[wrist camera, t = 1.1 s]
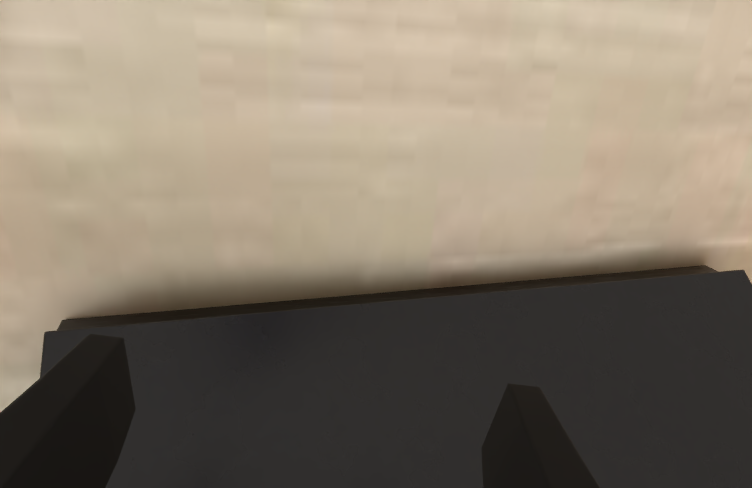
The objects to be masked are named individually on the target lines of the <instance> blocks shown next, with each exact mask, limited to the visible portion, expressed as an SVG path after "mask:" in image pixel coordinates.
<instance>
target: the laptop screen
mask: <svg viewBox="0 0 752 488" xmlns="http://www.w3.org/2000/svg"><path fill="white" fill-rule="evenodd" d="M89 334H97V335H105V336H114V337H122V338H124V342H125V348H126V354H127V360H128V366H129V372H130V378H131V384H132V390H133V396H134V402H135V408H136V409H135V412H134V415H133V418H132V421H131V424H130V427H129V430H128V433H127V436H126V439H125V442H124V445H123V448H122V450H121V453H120V456H119V459H118V462H117V464H116V466H115V468H114V470H113V472H112V475H111V477H110V479H109V481H108V483H107V485H106V487H105V488H483V472H482V445H483V443H484V440H485V438H486V436H487V433H488V431H489V428H490V426H491V423H492V421H493V419H494V416H495V414H496V411H497V409H498V406H499V404H500V401H501V399H502V397H503V394H504V392H505V389H506V387H507V384H508V383H509V384H517V385H526V386H534V387H540V389H541V390H542V391H543V393H544V395H545V396H546V398H547V400H548V402H549V403H550V405H551V407H552V409H553V410H554V412H555V414H556V415H557V417H558V419H559V421H560V422H561V424H562V426H563V427H564V429H565V431H566V433H567V434H568V436H569V438H570V439H571V441H572V443H573V444H574V446H575V448H576V449H577V451H578V452H579V454H580V456H581V457H582V459H583V461H584V462H585V464H586V466H587V467H588V469H589V470H590V472H591V473H592V475H593V477H594V478H595V480H596V481H597V483H598V484H599V486H600V487H601V488H752V284H751V282H750V280H749V278H748V276H747V275H746V273H745V271H744V270H734V271H723V272H711V273H700V274H689V275H678V276H666V277H655V278H644V279H633V280H622V281H610V282H599V283H588V284H577V285H565V286H554V287H543V288H532V289H520V290H509V291H498V292H487V293H475V294H464V295H453V296H442V297H430V298H419V299H408V300H397V301H385V302H374V303H363V304H352V305H340V306H329V307H318V308H307V309H296V310H284V311H273V312H262V313H251V314H239V315H228V316H217V317H206V318H194V319H183V320H172V321H161V322H149V323H138V324H127V325H116V326H104V327H93V328H82V329H71V330H59V331H48V332H45V334H44V342H43V352H42V362H41V372H40V378H41V377H42V376H43V375H44V374H45V373H46V372H47V371H48V370H50V369H51V368H52V367H53V366H54V365H55V364H56V363H57V362H58V361H59V360H61V359H62V358H63V357H64V356H65V355H66V354H67V353H68V352H69V351H70V350H71V349H73V348H74V347H75V346H76V345H77V344H78V343H79V342H80V341H81V340H82V339H84V338H85V337H86V336H88V335H89Z"/></svg>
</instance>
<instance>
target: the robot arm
mask: <svg viewBox="0 0 752 488" xmlns="http://www.w3.org/2000/svg"><path fill="white" fill-rule="evenodd" d="M135 409H136V408H135V402H134V396H133V390H132V384H131V378H130V372H129V366H128V360H127V354H126V348H125V342H124V338H122V337H114V336H105V335H97V334H89V335H88V336H86V337H85V338H84V339H82V340H81V341H80V342H79V343H78V344H77V345H76V346H75V347H74V348H73V349H71V350H70V351H69V352H68V353H67V354H66V355H65V356H64V357H63V358H62V359H61V360H59V361H58V362H57V363H56V364H55V365H54V366H53V367H52V368H51V369H50V370H48V371H47V372H46V373H45V374H44V375H43V376H42V377H41V378H40V379H38V380H37V381H36V382H35V383H34V384H33V385H32V386H31V387H29V388H28V389H27V390H26V391H25V392H24V393H23V394H22V395H20V396H19V397H18V398H17V399H16V400H15V401H13V402H12V403H11V404H10V405H9V406H8V407H7V408H5V409H4V410H3V411H2V412H1V413H0V488H105V487H106V485H107V483H108V481H109V479H110V477H111V475H112V472H113V470H114V468H115V466H116V464H117V462H118V459H119V456H120V453H121V450H122V448H123V445H124V442H125V439H126V436H127V433H128V430H129V427H130V424H131V421H132V418H133V415H134V412H135ZM482 472H483V488H601V487H600V486H599V484H598V483H597V481H596V480H595V478H594V477H593V475H592V473H591V472H590V470H589V469H588V467H587V466H586V464H585V462H584V461H583V459H582V457H581V456H580V454H579V452H578V451H577V449H576V448H575V446H574V444H573V443H572V441H571V439H570V438H569V436H568V434H567V433H566V431H565V429H564V427H563V426H562V424H561V422H560V421H559V419H558V417H557V415H556V414H555V412H554V410H553V409H552V407H551V405H550V403H549V402H548V400H547V398H546V396H545V395H544V393H543V391H542V390H541V389H540V387H534V386H526V385H517V384H509V383H508V384H507V387H506V389H505V392H504V394H503V397H502V399H501V401H500V404H499V406H498V409H497V411H496V414H495V416H494V419H493V421H492V423H491V426H490V428H489V431H488V433H487V436H486V438H485V440H484V443H483V445H482Z"/></svg>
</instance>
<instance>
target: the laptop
mask: <svg viewBox="0 0 752 488" xmlns="http://www.w3.org/2000/svg"><path fill="white" fill-rule="evenodd" d="M711 272H718V271H716V270H714V269H712V268H710V267H708V266H706V265H705V266H693V267H681V268H669V269H658V270H646V271H634V272H622V273H610V274H599V275H587V276H575V277H563V278H551V279H540V280H528V281H516V282H504V283H493V284H481V285H469V286H457V287H445V288H434V289H422V290H410V291H398V292H387V293H375V294H363V295H351V296H339V297H328V298H316V299H304V300H292V301H281V302H269V303H257V304H245V305H233V306H222V307H210V308H198V309H186V310H174V311H163V312H151V313H139V314H127V315H116V316H104V317H92V318H80V319H68V320H62V321H61V323H60V325H59V327H58V329H57V331H59V330H71V329H82V328H93V327H104V326H116V325H127V324H138V323H149V322H161V321H172V320H183V319H194V318H206V317H217V316H228V315H239V314H251V313H262V312H273V311H284V310H296V309H307V308H318V307H329V306H340V305H352V304H363V303H374V302H385V301H397V300H408V299H419V298H430V297H442V296H453V295H464V294H475V293H487V292H498V291H509V290H520V289H532V288H543V287H554V286H565V285H577V284H588V283H599V282H610V281H622V280H633V279H644V278H655V277H666V276H678V275H689V274H700V273H711Z"/></svg>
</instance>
